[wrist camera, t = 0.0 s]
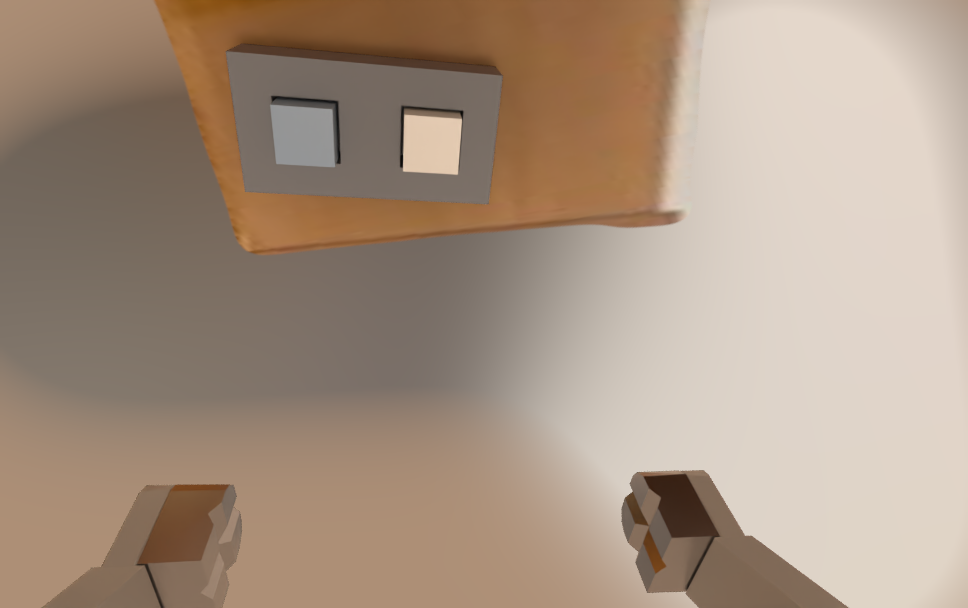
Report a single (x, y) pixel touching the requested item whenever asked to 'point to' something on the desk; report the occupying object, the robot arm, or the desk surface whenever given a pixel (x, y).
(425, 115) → the white key
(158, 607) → the robot arm
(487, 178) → the panel
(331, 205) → the desk surface
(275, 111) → the slate blue key
